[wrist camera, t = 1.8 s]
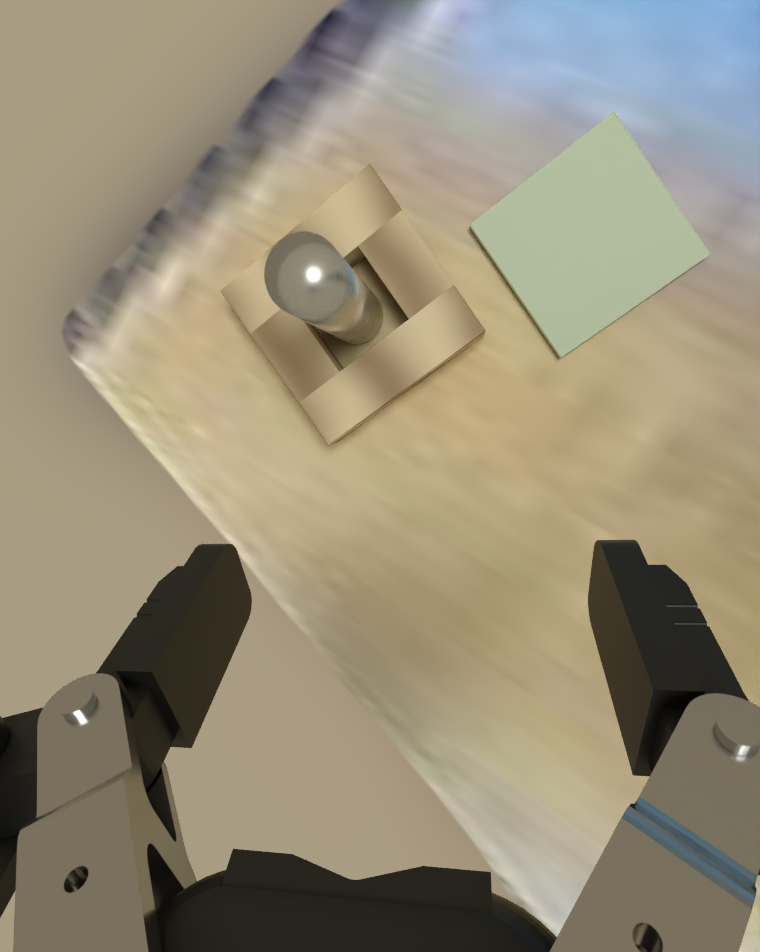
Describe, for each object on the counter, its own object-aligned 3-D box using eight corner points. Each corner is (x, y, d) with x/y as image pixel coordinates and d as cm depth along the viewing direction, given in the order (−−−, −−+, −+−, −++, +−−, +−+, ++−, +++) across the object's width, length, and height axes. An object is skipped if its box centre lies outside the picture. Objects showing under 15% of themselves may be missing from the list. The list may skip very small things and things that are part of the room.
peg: (362, 277, 35) (310, 213, 23) (393, 322, 35) (358, 282, 23) (319, 311, 35) (248, 266, 24) (350, 355, 35) (295, 332, 24)
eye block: (376, 180, 34) (370, 163, 31) (483, 335, 34) (485, 330, 32) (236, 298, 36) (220, 291, 34) (337, 441, 36) (328, 444, 34)
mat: (611, 116, 31) (614, 111, 31) (706, 256, 31) (710, 254, 31) (469, 227, 33) (469, 224, 33) (559, 358, 33) (561, 357, 33)
